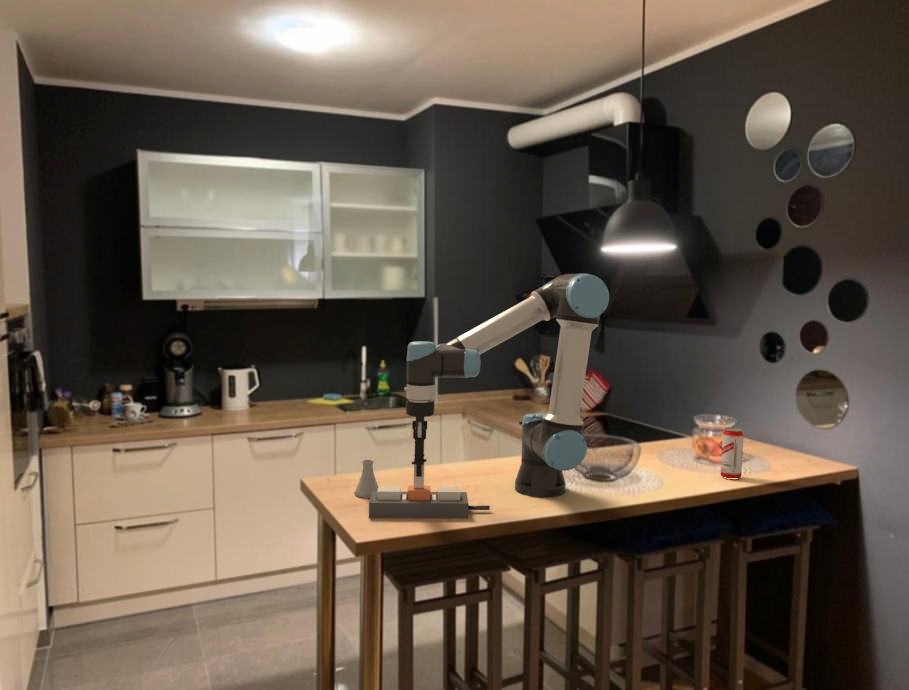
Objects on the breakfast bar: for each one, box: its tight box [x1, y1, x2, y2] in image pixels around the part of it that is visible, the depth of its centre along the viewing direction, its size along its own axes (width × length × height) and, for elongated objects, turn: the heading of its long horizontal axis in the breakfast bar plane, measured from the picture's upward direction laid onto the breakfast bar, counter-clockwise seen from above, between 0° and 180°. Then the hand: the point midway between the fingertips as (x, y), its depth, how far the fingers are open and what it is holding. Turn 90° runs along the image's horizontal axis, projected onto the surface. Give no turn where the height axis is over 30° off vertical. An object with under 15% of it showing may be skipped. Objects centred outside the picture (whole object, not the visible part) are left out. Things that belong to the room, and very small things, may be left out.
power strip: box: [368, 491, 491, 519], centre depth 192 cm, size 32×10×4 cm, turn 92°
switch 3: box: [437, 486, 462, 500], centre depth 192 cm, size 6×4×4 cm
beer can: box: [720, 427, 744, 479], centre depth 230 cm, size 6×6×16 cm
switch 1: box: [377, 486, 402, 500], centre depth 191 cm, size 6×4×4 cm
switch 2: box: [407, 485, 431, 500], centre depth 191 cm, size 6×4×4 cm
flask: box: [353, 459, 379, 499], centre depth 206 cm, size 7×7×10 cm
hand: (418, 487), depth 191 cm, fingers closed
